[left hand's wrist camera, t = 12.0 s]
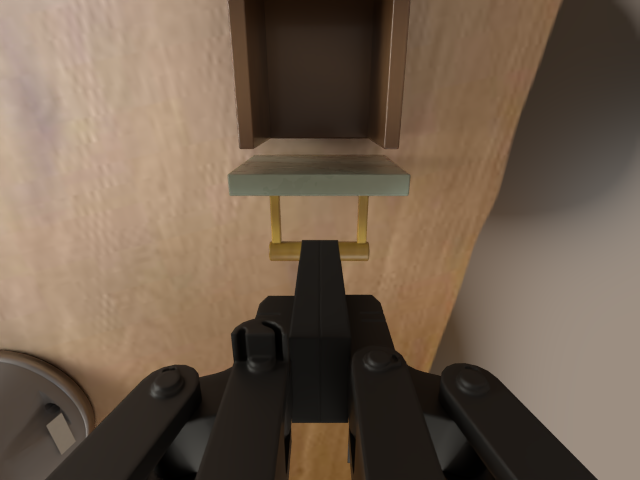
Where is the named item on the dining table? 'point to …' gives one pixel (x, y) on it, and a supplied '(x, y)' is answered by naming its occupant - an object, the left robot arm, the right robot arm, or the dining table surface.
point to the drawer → (318, 101)
